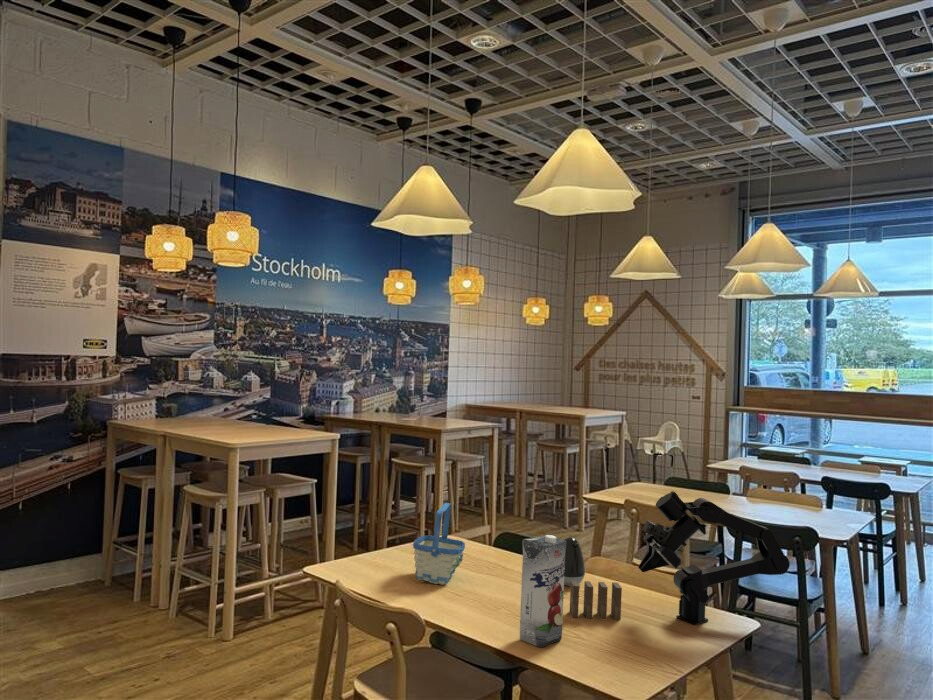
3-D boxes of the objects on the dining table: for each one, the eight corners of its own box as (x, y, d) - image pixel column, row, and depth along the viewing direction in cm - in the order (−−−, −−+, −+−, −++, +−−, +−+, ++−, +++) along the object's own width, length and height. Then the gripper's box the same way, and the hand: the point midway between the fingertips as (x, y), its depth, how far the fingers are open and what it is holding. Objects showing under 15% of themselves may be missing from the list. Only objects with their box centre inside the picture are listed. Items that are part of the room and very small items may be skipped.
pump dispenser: (561, 589, 222) (563, 541, 222) (548, 579, 232) (550, 533, 232) (590, 588, 225) (592, 540, 225) (576, 578, 235) (578, 533, 235)
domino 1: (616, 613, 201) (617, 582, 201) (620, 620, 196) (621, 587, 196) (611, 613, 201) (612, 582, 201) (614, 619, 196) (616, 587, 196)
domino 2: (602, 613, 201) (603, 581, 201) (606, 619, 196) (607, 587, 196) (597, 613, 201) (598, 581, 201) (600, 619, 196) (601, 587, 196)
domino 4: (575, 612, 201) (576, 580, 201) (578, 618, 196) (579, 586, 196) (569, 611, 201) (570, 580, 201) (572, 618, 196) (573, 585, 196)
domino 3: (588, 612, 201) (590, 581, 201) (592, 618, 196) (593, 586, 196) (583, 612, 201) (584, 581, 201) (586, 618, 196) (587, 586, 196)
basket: (457, 590, 217) (461, 514, 218) (406, 585, 219) (410, 510, 220) (467, 571, 237) (470, 502, 238) (421, 567, 240) (424, 499, 241)
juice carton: (514, 639, 178) (518, 533, 179) (540, 630, 185) (544, 528, 186) (540, 650, 172) (545, 540, 173) (566, 640, 179) (570, 535, 180)
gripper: (651, 505, 209) (613, 541, 209) (670, 518, 190) (629, 557, 190) (677, 533, 209) (639, 568, 208) (698, 548, 190) (656, 587, 190)
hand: (640, 569), depth 199 cm, fingers closed
